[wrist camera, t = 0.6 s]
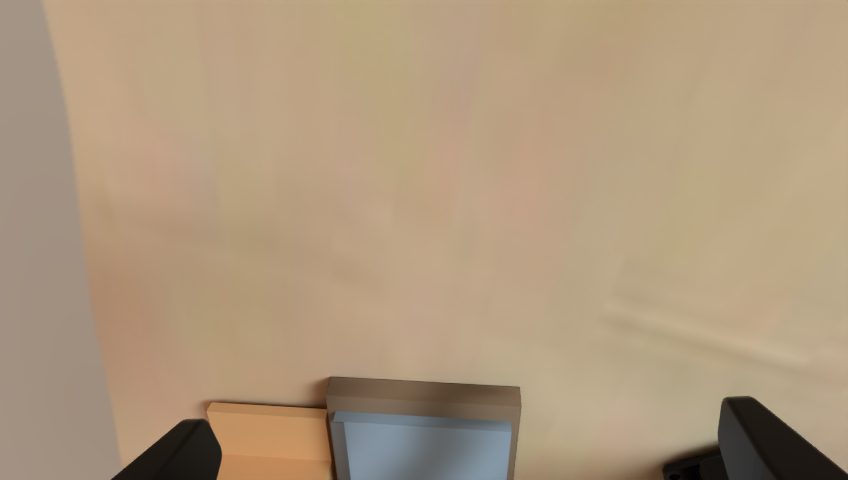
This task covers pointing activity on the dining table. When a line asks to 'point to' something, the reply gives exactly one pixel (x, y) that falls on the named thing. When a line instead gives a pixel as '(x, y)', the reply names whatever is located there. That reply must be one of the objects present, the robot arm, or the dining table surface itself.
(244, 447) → the tan upright slab stand
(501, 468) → the ticket holder
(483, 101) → the dining table surface
